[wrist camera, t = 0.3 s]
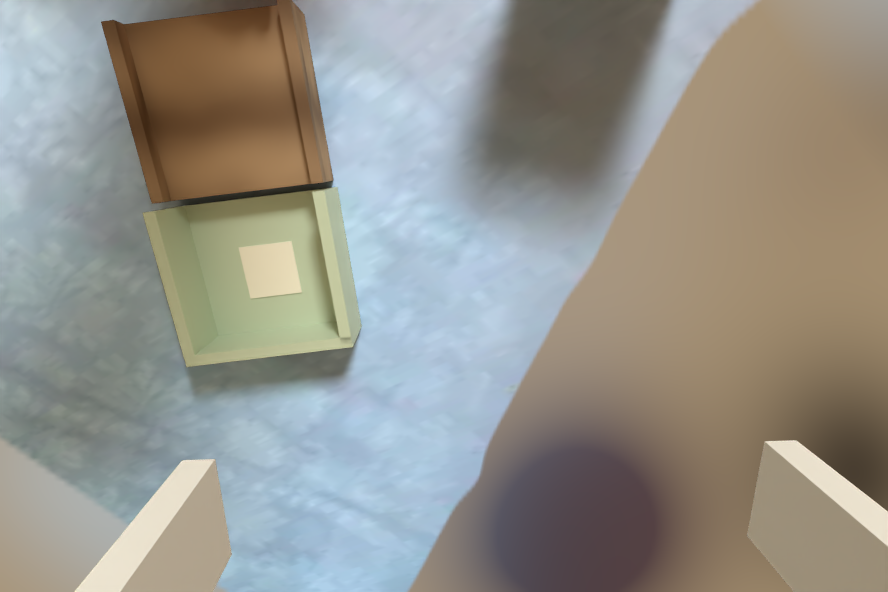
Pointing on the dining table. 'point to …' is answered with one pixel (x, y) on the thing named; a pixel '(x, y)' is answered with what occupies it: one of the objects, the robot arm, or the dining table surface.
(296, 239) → the pocket tray
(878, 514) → the robot arm
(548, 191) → the dining table surface
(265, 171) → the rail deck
